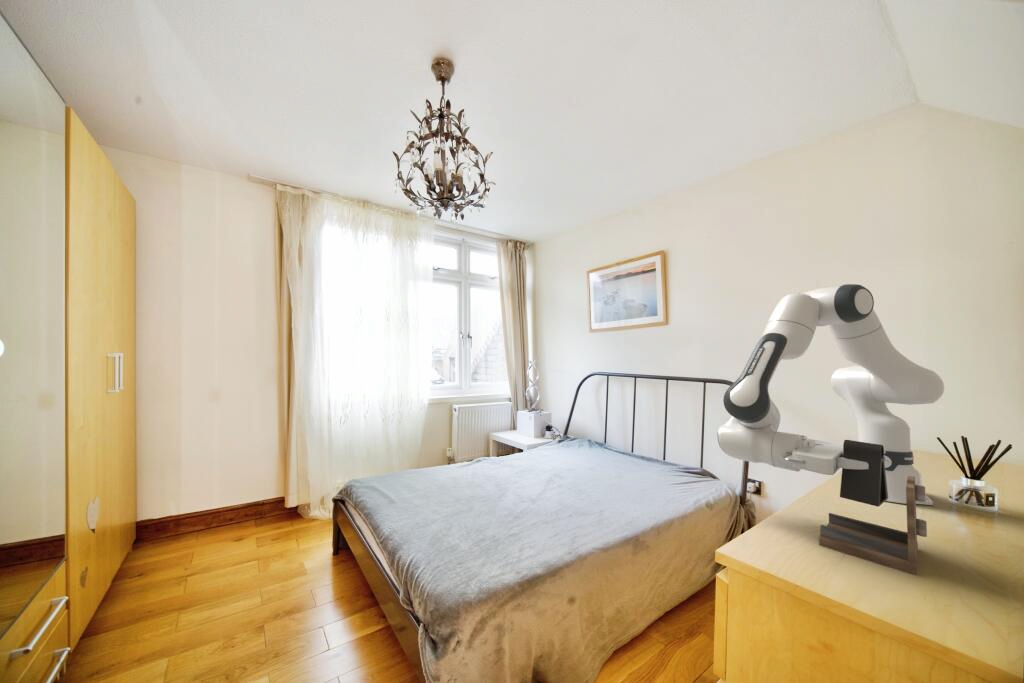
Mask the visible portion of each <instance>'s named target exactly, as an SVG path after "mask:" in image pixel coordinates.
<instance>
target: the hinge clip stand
mask: <svg viewBox="0 0 1024 683" xmlns="http://www.w3.org/2000/svg"><path fill="white" fill-rule="evenodd" d="M925 495H926V486H924V485H922V486H921V485H915V477H911V476H908V478H907V484H906V504H905V505H906V526H907V527H906V528H907V529H906V530H907V531H902V530H899V529H895V528H891V527H887V526H883V525H879V524H875V523H871V522H867V521H863V520H859V519H855V518H853V517H849V516H848V517H847V516H845V515H844V516H843V515H839V514H836V513H832V512H828V523H827V525H824V524H821V525H820V536H818V545H819V546H821V547H823V548H828V549H830V550H832V551H837V552H840V553H843V554H847V555H849V556H853V557H857V558H860V559H863V560H865V561H869V562H872V563H875V564H879V565H882V566H886V567H889V568H892V569H895V570H899V571H902V572H905V573H909V574H911V575H915V576H917V571H918V570H917V568H918V552H919V551H918V549H919V548H918V546H919V545H918V536H919V537H924V538H926V537H928V528H927V520H925V519H920V518H917V504H916V501H919V502H926V498H925Z"/></svg>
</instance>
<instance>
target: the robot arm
mask: <svg viewBox="0 0 1024 683" xmlns="http://www.w3.org/2000/svg"><path fill="white" fill-rule="evenodd" d="M874 306H875V301H874V296H873V294H872V292H871V291H870V290H869V288H866V287H865V286H863V285H861V284H855V283H852V284H842V285H837V286H836V285H835V286H826V287H819V288H816V289H812V290H807V291H805V292H797V293H796V292H795V293H789V294H787V295H784V296H783V297H782V298H781V299H780V300H779V302H778V303H777V305H776V306H775V307H774V310H773V311H772V313H771V314H770V316H769V318H768V320H767V322H766V326H765V327H764V330H763V333H762V334H761V337H760V339H759V340H758V342H757V343H756V345H755V347H754V349H753V350H752V353H751V354H750V356H749V358H748V359H747V362H746V364H745V367H743V370H742V371H741V374H740V375H739V377H738V378H737V379H736V380H735V381H734V382H733V383H732V384H730V386H729V387H728V388H727V389H726V391H725V393H724V394H723V406H724V408H725V410H726V412H727V413H728V414H729V415H730V416H731V417H730V418H729V420H728V421H726V422H725V423H724V424H722V425H720V426H719V427H718V430H717V443H718V446H719V448H720V449H721V451H722V452H723V453H724V454H725V455H727V456H729V457H731V458H733V459H737V460H741V461H745V462H748V463H754V464H766V465H768V466H771V467H774V468H779V469H783V470H787V471H794V472H800V471H801V470H804V471H808V472H813V473H815V474H816V473H817V474H820V475H825V476H826V475H827V476H834V475H835V474H836V473H837V471H838V470H840V469H842V468H844V469H859V470H860V469H869V464H868V463H867V462H863V461H858V460H852V459H846V458H843V454H844V450H843V445H841V444H838V443H833V442H827V441H822V440H818V439H813V438H808V436H806V435H803V434H802V435H801V434H799V433H798V434H796V433H790V432H783V431H778V429H779V426H780V422H781V413H780V411H779V408H778V407H777V406H776V405H777V404H775V403H774V402H773V400H772V398H771V397H770V393H769V387H770V386H769V385H770V383H771V380H772V379H773V376H774V374H775V372H776V370H777V369H778V368H777V367H778V365H779V363H781V361H782V360H786V361H788V360H794V359H798V358H800V357H802V356H803V355H805V353H806V352H807V351H808V348H809V347H810V345H811V343H812V340H813V338H814V335H815V332H816V329H817V327H826V326H827V327H828V326H829V329H830V331H831V333H832V336H833V338H834V340H835V342H836V345H837V346H838V349H839V351H840V353H841V355H842V356H843V358H844V359H846V360H847V361H849V362H850V363H853V364H856V365H853V366H846V367H840V368H837V369H836V370H835V371H833V373H832V375H831V376H830V387H831V389H832V390H833V392H834V393H835V394H836V395H838V396H839V397H841V398H842V399H843V400H844V401H845V402H846V403H847V404H848V406H849V407H850V409H851V410H852V413H853V414H854V417H855V420H856V425H857V437H858V438H857V439H858V441H859V442H865V443H872V444H878V445H883V447H884V463H885V472H886V482H887V491H888V499H887V500H886V501H885V502H892V503H895V504H896V503H898V504H903V505H904V504H905V505H906V484H907V478H908V476H911V477H915V485H921V486H923V484H922V474H921V473H920V472H919V471H918V470H917V469H916V468H915V467H914V466H913V464H914V458H915V457H914V453H913V451H912V450H911V449H912V447H911V428H910V426H909V424H908V423H907V421H905V420H904V419H902V418H901V417H899V416H897V415H896V414H894V413H893V412H892V411H891V410H890V409H889V408H888V406H887V404H888V403H889V404H897V405H898V404H899V405H909V406H910V405H913V406H914V405H927V404H928V405H929V404H935V403H936V402H937V401H938V400H939V399H940V398H942V396H943V394H944V391H945V385H944V381H943V379H942V378H941V376H940V375H939V374H937V373H936V372H935V371H934V370H932V369H928V368H926V367H923V366H921V365H919V364H917V363H915V362H914V361H912V360H910V359H909V358H908V357H906V356H904V354H902V353H901V352H900V351H898V349H896V347H894V345H893V344H892V342H891V340H890V339H889V336H888V335H887V333H886V331H885V328H884V327H883V324H882V322H881V321H880V318H879V316H878V315H877V312H876V311H875V310H874ZM886 403H887V404H886ZM925 498H926V502H919V501H916V505H924V506H925V505H926V506H934V502H933V500H932V499H931V498H930V497H929V496H928V495H927V494H925Z"/></svg>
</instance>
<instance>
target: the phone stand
mask: <svg viewBox="0 0 1024 683" xmlns="http://www.w3.org/2000/svg"><path fill="white" fill-rule="evenodd" d="M842 446H843V450H844V454H843V458H846V459H852V460H858V461H863V462H867V463H868V464H869V469H860V470H859V469H844V468H841V476H840V477H841V479H840V480H841V481H840V490H839V498H842V499H845V500H850V501H854V502H857V503H858V502H859V503H862V504H865V505H869V506H870V505H871V506H874V507H878V508H879V507H880V506H881V505H882V504H884V503H885V502H887V501H886V500H887V499H888V491H887V482H886V472H885V463H884V447H883V445H878V444H872V443H865V442H859V440H857V441H856V440H851V439H844V441H843V445H842Z"/></svg>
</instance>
